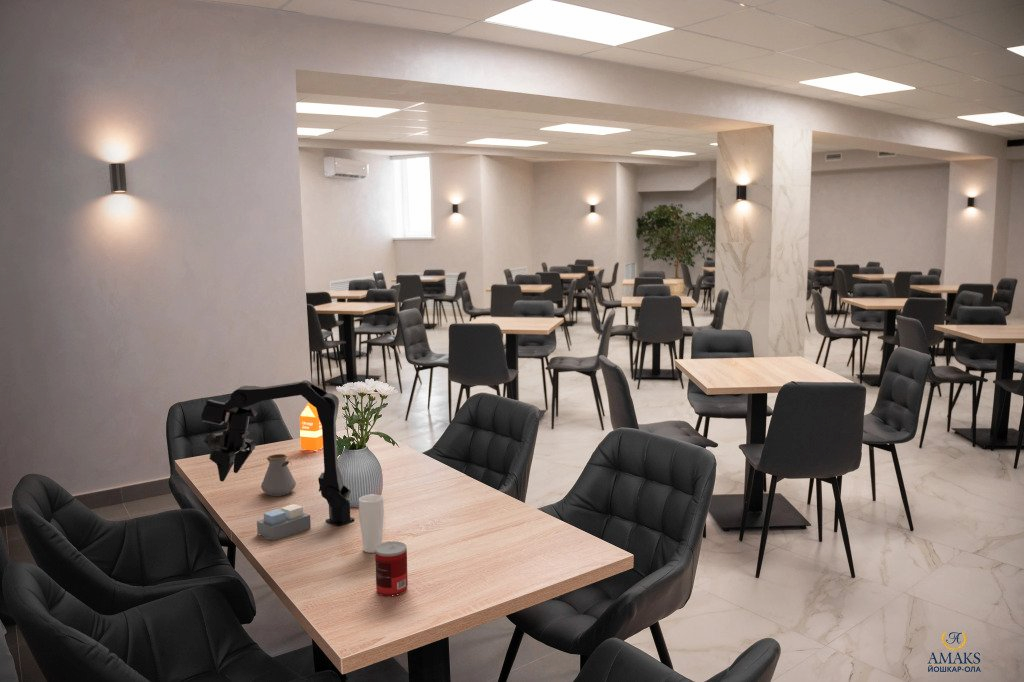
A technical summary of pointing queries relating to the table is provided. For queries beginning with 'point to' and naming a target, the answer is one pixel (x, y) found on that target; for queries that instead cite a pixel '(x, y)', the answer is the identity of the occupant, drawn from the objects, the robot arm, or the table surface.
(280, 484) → the coffee pot
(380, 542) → the drinking glass
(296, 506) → the cream key
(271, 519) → the blue key
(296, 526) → the key block
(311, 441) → the orange juice
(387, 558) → the canned food
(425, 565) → the table surface
